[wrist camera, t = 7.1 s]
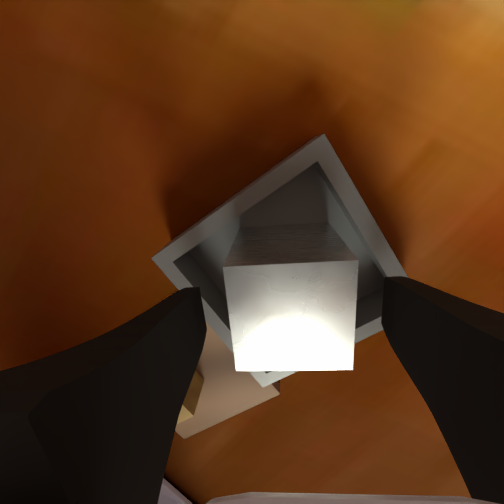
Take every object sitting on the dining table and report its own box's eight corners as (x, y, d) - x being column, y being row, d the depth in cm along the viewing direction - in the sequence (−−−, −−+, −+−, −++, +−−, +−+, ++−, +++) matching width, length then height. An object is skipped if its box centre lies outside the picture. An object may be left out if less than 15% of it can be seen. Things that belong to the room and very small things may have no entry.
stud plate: (279, 384, 18) (281, 432, 15) (187, 428, 20) (171, 479, 17) (203, 292, 16) (187, 326, 13) (109, 352, 18) (76, 393, 15)
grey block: (328, 222, 13) (358, 260, 9) (327, 303, 15) (352, 372, 10) (239, 227, 14) (222, 266, 9) (247, 305, 15) (236, 373, 11)
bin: (401, 282, 15) (426, 308, 12) (264, 354, 17) (262, 387, 15) (314, 136, 13) (324, 133, 10) (170, 240, 15) (150, 258, 13)
